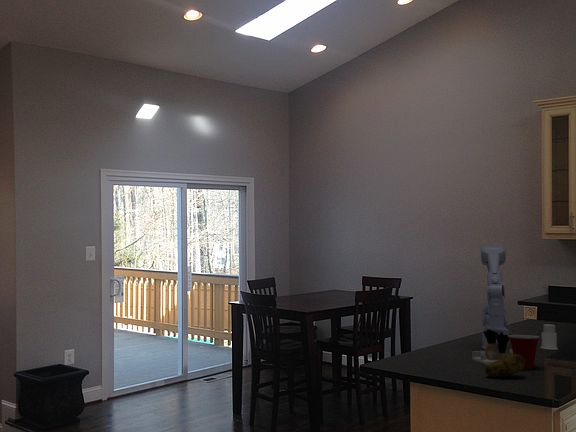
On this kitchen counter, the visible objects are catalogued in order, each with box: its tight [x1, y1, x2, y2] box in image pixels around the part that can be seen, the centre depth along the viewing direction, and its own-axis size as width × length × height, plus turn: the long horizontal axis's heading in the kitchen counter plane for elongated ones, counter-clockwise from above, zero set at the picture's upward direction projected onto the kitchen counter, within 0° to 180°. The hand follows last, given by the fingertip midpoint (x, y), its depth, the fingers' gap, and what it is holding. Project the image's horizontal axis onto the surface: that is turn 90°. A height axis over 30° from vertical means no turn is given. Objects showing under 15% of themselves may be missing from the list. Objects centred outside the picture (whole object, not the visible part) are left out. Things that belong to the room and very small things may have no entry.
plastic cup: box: [508, 334, 541, 371], centre depth 232 cm, size 11×11×12 cm
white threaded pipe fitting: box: [540, 323, 559, 351], centre depth 268 cm, size 8×7×10 cm
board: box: [471, 348, 513, 366], centre depth 246 cm, size 11×18×4 cm, turn 102°
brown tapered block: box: [484, 343, 510, 360], centre depth 244 cm, size 4×8×6 cm, turn 102°
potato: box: [485, 354, 526, 378], centre depth 218 cm, size 8×13×8 cm, turn 68°
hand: (497, 351), depth 244 cm, fingers open, 7 cm apart
